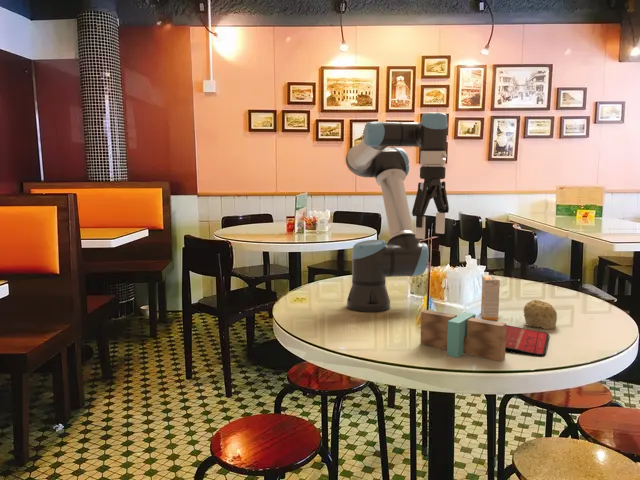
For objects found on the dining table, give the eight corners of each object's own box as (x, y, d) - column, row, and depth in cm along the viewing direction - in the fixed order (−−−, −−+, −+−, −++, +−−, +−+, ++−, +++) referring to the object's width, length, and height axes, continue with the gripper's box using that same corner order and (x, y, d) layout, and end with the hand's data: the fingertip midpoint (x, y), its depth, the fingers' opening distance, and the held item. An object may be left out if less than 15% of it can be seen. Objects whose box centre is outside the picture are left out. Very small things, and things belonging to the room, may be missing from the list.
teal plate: (458, 357, 130) (459, 323, 129) (446, 355, 132) (447, 321, 131) (474, 346, 139) (475, 313, 138) (463, 344, 141) (464, 312, 139)
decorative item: (555, 337, 158) (554, 307, 163) (559, 325, 150) (558, 294, 155) (522, 335, 161) (522, 305, 166) (524, 323, 153) (524, 293, 158)
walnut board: (420, 343, 141) (421, 311, 140) (425, 341, 143) (426, 309, 142) (501, 361, 127) (502, 326, 126) (505, 358, 130) (506, 323, 129)
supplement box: (498, 320, 164) (500, 280, 162) (483, 319, 164) (484, 279, 163) (495, 313, 172) (497, 275, 170) (480, 312, 173) (481, 274, 171)
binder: (480, 341, 137) (492, 321, 156) (480, 350, 137) (491, 329, 156) (546, 353, 130) (550, 331, 149) (545, 362, 130) (549, 338, 149)
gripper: (425, 166, 142) (422, 241, 145) (461, 165, 162) (458, 232, 165) (401, 166, 147) (399, 239, 150) (439, 165, 166) (436, 230, 169)
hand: (430, 235), depth 157 cm, fingers open, 13 cm apart
